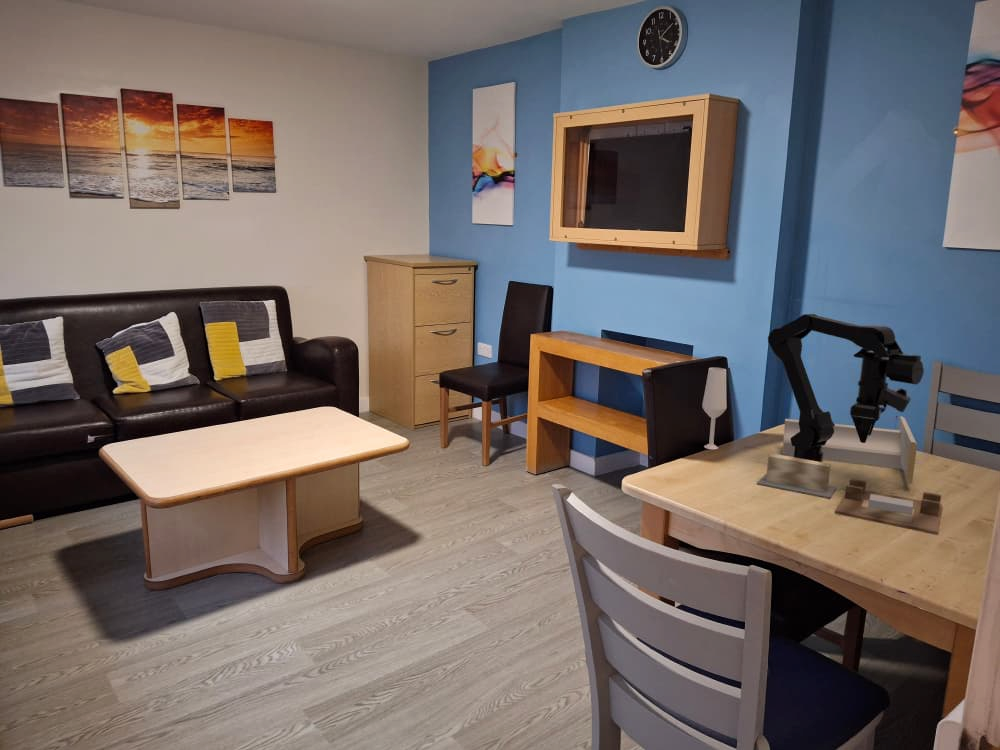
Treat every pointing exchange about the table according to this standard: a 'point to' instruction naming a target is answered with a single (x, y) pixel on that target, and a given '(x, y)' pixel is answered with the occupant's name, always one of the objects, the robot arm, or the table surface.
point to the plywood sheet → (798, 472)
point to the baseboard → (907, 449)
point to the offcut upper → (891, 504)
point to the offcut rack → (924, 510)
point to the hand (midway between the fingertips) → (865, 438)
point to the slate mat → (797, 488)
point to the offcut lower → (885, 513)
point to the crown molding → (854, 445)
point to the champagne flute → (714, 399)
